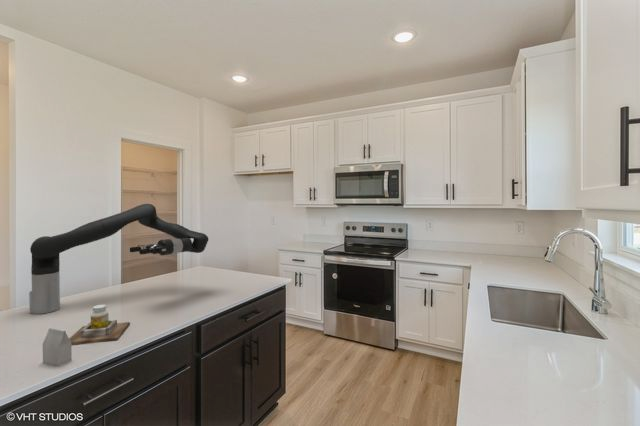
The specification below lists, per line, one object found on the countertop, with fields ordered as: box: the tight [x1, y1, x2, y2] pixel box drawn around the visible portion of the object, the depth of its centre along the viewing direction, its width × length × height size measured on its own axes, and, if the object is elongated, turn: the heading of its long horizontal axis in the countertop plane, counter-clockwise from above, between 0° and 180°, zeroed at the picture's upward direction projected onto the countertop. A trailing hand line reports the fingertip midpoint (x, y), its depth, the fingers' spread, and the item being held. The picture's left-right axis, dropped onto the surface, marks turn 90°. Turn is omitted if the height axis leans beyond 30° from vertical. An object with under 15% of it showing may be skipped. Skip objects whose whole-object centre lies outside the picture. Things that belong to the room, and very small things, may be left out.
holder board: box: [68, 319, 131, 346], centre depth 111 cm, size 16×14×4 cm
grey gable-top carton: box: [42, 327, 73, 367], centre depth 93 cm, size 4×7×10 cm, turn 74°
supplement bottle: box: [90, 304, 110, 329], centre depth 111 cm, size 5×5×10 cm
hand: (134, 251), depth 131 cm, fingers open, 8 cm apart
